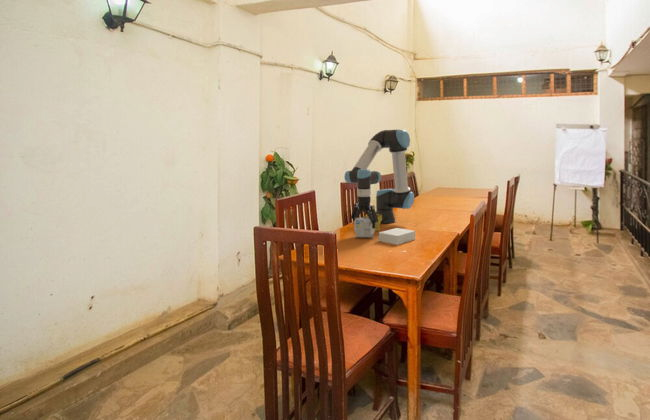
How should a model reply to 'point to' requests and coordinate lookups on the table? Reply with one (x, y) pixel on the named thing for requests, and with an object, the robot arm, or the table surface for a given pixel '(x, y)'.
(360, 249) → the table surface
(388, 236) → the grey plinth
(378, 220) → the plant pot
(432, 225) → the table surface
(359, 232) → the light bulb box
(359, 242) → the table surface
